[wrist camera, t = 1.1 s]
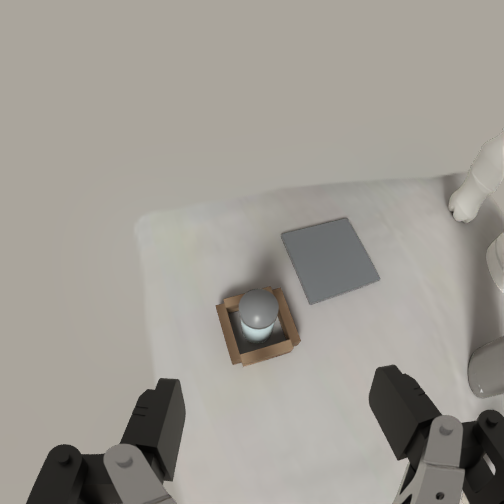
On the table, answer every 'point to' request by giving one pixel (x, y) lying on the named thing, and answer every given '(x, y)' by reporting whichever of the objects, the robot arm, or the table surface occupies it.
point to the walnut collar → (266, 352)
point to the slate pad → (329, 260)
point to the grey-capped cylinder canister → (258, 314)
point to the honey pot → (496, 261)
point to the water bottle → (479, 180)
